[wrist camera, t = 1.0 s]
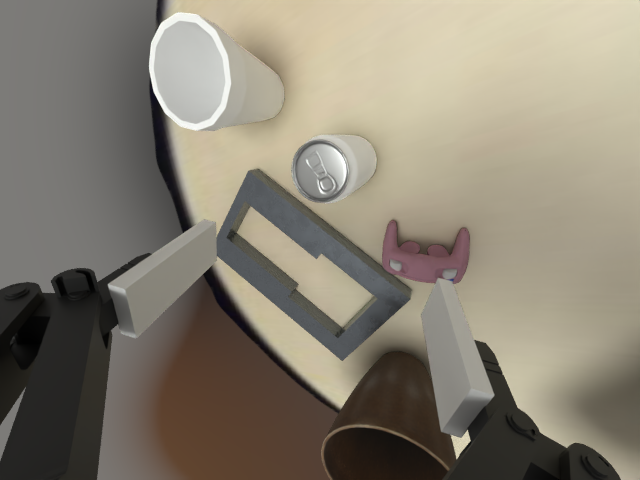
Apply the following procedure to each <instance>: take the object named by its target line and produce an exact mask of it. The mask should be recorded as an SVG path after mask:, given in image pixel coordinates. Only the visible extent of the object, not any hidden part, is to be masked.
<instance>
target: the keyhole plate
mask: <svg viewBox="0 0 640 480" xmlns="http://www.w3.org/2000/svg"><path fill="white" fill-rule="evenodd" d="M250 206H252V207H253V208H254V209H255V210H256V211H258V212H259V213H260V214H261V215H263V216H264V217H265V218H266V219H268V220H269V221H270V222H271V223H273V224H274V225H275V226H276V227H278V228H279V229H280V230H281V231H282V232H284V233H285V234H286V235H287V236H289V237H290V238H291V239H292V240H294V241H295V242H296V243H297V244H299V245H300V246H301V247H302V248H304V249H305V250H306V251H307V252H308V253H310V254H311V255H312V256H313V257H315V258H316V259H317V258H318V257H319V256H320V255H321V254H323V255H324V256H326V257H327V258H328V259H329V260H330V261H332V262H333V263H334V264H335V265H337V266H338V267H339V268H340V269H342V270H343V271H344V272H345V273H347V274H348V275H349V276H350V277H352V278H353V279H354V280H355V281H357V282H358V283H359V284H360V285H362V286H363V287H364V288H365V289H367V290H368V291H369V292H370V293H372V294H373V295H374V297H373V298H372V299H371V300H370V301H369V302H368V303H367V304H366V305H365V306H364V307H363V308H362V309H361V310H360V311H359V312H358V313H357V314H356V315H355V316H354V317H353V318H352V319H351V320H350V321H349V322H348V323H347V324H346V325H345V326H344V327H343V328H341V327H340V326H339V325H338V324H336V323H335V322H334V321H333V320H332V319H330V318H329V317H328V316H327V315H326V314H324V313H323V312H322V311H321V310H319V309H318V308H317V307H316V306H315V305H313V304H312V303H311V302H310V301H309V300H307V299H306V298H305V297H304V296H303V295H301V294H300V293H299V292H298V291H297V290H295V288H296V287H297V286H298V283H296V282H295V281H294V280H293V279H291V278H290V277H289V276H288V275H287V274H285V273H284V272H283V271H282V270H281V269H279V268H278V267H277V266H276V265H274V264H273V263H272V262H271V261H270V260H268V259H267V258H266V257H265V256H264V255H262V254H261V253H260V252H259V251H257V250H256V249H255V248H254V247H253V246H251V245H250V244H249V243H248V242H247V241H245V240H244V239H243V238H242V237H240V236H239V235H238V234H237V233H236V232H237V230H238V228H239V226H240V224H241V223H242V221H243V219H244V217H245V215H246V213H247V211H248V209H249V207H250ZM216 243H217V256H218V257H219V258H220V259H221V260H223V261H224V262H225V263H226V264H227V265H229V266H230V267H231V268H232V269H233V270H235V271H236V272H237V273H238V274H239V275H240V276H242V277H243V278H244V279H245V280H246V281H248V282H249V283H250V284H251V285H252V286H254V287H255V288H256V289H257V290H258V291H260V292H261V293H262V294H263V295H264V296H266V297H267V298H268V299H269V300H270V301H271V302H273V303H274V304H275V305H276V306H277V307H279V308H280V309H281V310H282V311H283V312H285V313H286V314H287V315H288V316H289V317H291V318H292V319H293V320H294V321H295V322H296V323H298V324H299V325H300V326H301V327H302V328H304V329H305V330H306V331H307V332H308V333H310V334H311V335H312V336H313V337H314V338H316V339H317V340H318V341H319V342H320V343H322V344H323V345H324V346H325V347H326V348H327V349H329V350H330V351H331V352H332V353H333V354H335V355H336V356H337V357H338V358H339V359H341V360H342V361H343V360H344V359H345V358H346V357H347V356H348V355H349V354H350V353H352V352H353V351H354V350H355V349H356V348H357V347H358V346H359V345H360V344H362V343H363V342H364V341H365V340H366V339H367V338H368V337H369V336H370V335H371V334H373V333H374V332H375V331H376V330H377V329H378V328H379V327H380V326H381V325H383V324H384V323H385V322H386V321H387V320H388V319H389V318H390V317H391V316H392V315H394V314H395V313H396V312H397V311H398V310H399V309H400V308H401V307H402V306H404V305H405V304H406V303H407V302H408V301H409V300H410V298H411V289H410V288H408V287H407V286H406V285H404V284H403V283H402V282H401V281H399V280H398V279H397V278H396V277H394V276H393V275H392V274H391V273H389V272H387V271H386V270H385V269H384V268H383V267H382V266H380V265H379V264H378V263H377V262H375V261H374V260H373V259H372V258H370V257H369V256H368V255H367V254H365V253H364V252H363V251H362V250H360V249H359V248H358V247H356V246H355V245H354V244H353V243H351V242H350V241H349V240H348V239H346V238H345V237H344V236H343V235H341V234H340V233H339V232H337V231H336V230H335V229H334V228H332V227H331V226H330V225H329V224H327V223H326V222H325V221H324V220H322V219H321V218H320V217H319V216H317V215H316V214H315V213H313V212H312V211H311V210H310V209H308V208H307V207H306V206H305V205H303V204H302V203H301V202H300V201H298V200H297V199H296V198H295V197H293V196H292V195H291V194H289V193H288V192H287V191H286V190H284V189H283V188H282V187H281V186H279V185H278V184H277V183H276V182H274V181H273V180H272V179H271V178H269V177H268V176H267V175H265V174H264V173H263V172H262V171H260V170H259V169H255V170H250V171H248V173H247V175H246V177H245V179H244V181H243V183H242V185H241V187H240V190H239V192H238V194H237V196H236V198H235V200H234V202H233V204H232V206H231V208H230V211H229V213H228V215H227V217H226V219H225V221H224V223H223V225H222V227H221V229H220V231H219V234H218V236H217V238H216Z"/></svg>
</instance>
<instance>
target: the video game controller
mask: <svg viewBox="0 0 640 480" xmlns="http://www.w3.org/2000/svg"><path fill="white" fill-rule="evenodd" d="M469 241H470V238H469V232H468V230H467V229H466V228H463V229H461V230H460V232H459V234H458V236H457V239H456V242H455V245H454V248H453V252H452V254H451V255H450V254H449V253H448V252H447V250H446V249H445V248H444V247H443V246H441V245H431V246H430V247H429V248H428V251H427V255H425V254H419V251H420V246H419V245H418V244H417V243H415V242H412V241H407V242H405V243H403V244H402V245H401V246H400V247H398V245H397V226H396V222H395V221H394V220H392V221H391V222H390V223H389V224H388V227H387V229H386V234H385V238H384V242H383V254H382V262H383V267H384V269H385V270H386V271H387V272H389V273H391V274H396V275H399V276H401V277H404V278H407V279H411V280H415V281H419V282H427V283H436V281H437V279H438V278H441V279H445V280H449V281H452V282H453V284H456V283H458V282H460V281H461V279H462V277H463V275H464V273H465V271H466V268H467V265H468V259H469Z"/></svg>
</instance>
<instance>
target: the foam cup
mask: <svg viewBox="0 0 640 480" xmlns="http://www.w3.org/2000/svg"><path fill="white" fill-rule="evenodd" d="M149 71H150V76H151V81H152V85H153V90H154V93H155V95H156V97H157V99H158V101H159V103H160V105H161V106H162V108H163V110H164V112H165V113H166V114H167V115H168V116H169V117H170V118H171V119H172V120H173V121H175V122H176V123H177V124H178V125H179V126H180V127H184V128H188V129H192V130H196V131H216V130H218V129H221V128H224V127H230V126H236V125H242V124H248V123H254V122H260V121H264V120H268V119H271V118H274V117H275V116H276V115H277V114H278V113H279V111H280V110H281V108H282V105H283V102H284V99H285V97H284V86H283V83H282V81H281V79H280V77H279V75H278V74H277V73H275V72H274V71H273V70H272V69H271V68H269V67H268V66H267V65H266V64H264V63H263V62H262V61H260V60H259V59H258V58H256V57H255V56H254V55H252V54H251V53H250V52H248V51H247V50H246V49H245V48H243V47H242V46H241V45H239V44H238V43H237V42H235V41H234V39H233V38H232V37H231V36H229V35H228V34H227V33H226V32H225V31H224V30H222V29H221V28H220V27H219V26H218V25H217V24H215V23H213V22H211V21H209V20H207V19H205V18H203V17H201V16H199V15H197V14H189V13H181V12H177V13H176V14H174V15H173V16H171V17H169V18H168V19H166V20H165V21H163V22H162V23H161V24H160V26H159V28H158V30H157V32H156V34H155V36H154V38H153V41H152V42H151V51H150V61H149Z"/></svg>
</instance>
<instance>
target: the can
mask: <svg viewBox="0 0 640 480" xmlns="http://www.w3.org/2000/svg"><path fill="white" fill-rule="evenodd" d="M376 165H377V157H376V153H375V150H374V148H373V146H372V145H371V144H370V143H369V142H368V141H367V140H366V139H364V138H362V137H360V136H356V135H319V136H316V137H313V138H311V139H310V140H308V141H307V142H306V143H305V144H304V145H302V146H301V147H300V148H299V149H298V151H297V152H296V154H295V156H294V158H293V161H292V168H291V172H292V178H293V182H294V184H295V186H296V188H297V189H298V191H299V192H300V193H301V194H302V195H303V196H304V197H305V198H307V199H309V200H311V201H313V202H318V203H334V202H337V201H340V200H342V199H344V198H345V197H347V196H348V195H350V194H351V193H353V192H354V191H356V190H357V189H358V188H360V187H361V186H362V185H364V184H365V183H366V182H367V181H369V180H370V178H371V177H372V176H373V174H374V172H375V169H376Z"/></svg>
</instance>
